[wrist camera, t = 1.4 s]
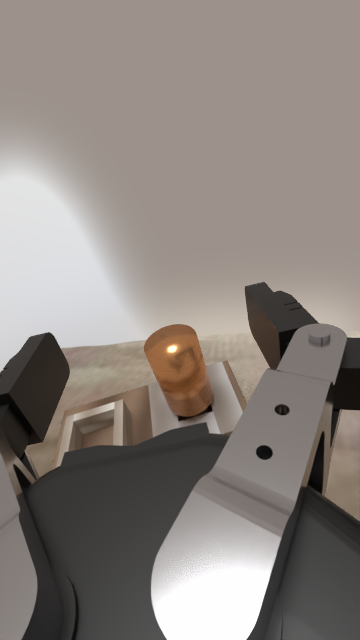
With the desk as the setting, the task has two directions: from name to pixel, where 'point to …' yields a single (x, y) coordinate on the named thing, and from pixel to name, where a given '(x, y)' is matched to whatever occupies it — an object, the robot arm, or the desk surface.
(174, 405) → the copper cup
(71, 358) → the desk surface
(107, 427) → the tool board
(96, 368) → the desk surface
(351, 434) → the desk surface
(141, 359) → the desk surface
